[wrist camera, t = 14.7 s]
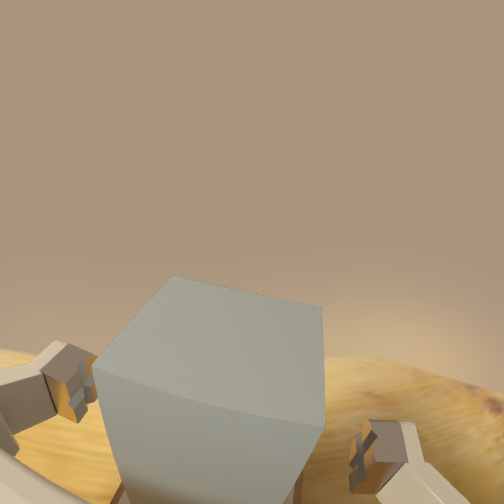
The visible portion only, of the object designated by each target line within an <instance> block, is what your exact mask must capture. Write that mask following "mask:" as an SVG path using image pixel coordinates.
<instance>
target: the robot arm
mask: <svg viewBox="0 0 504 504" xmlns="http://www.w3.org/2000/svg"><path fill="white" fill-rule="evenodd" d="M97 358H98V357H97V356H96V355H94V354H92V353H89V352H87V351H85V350H83V349H80V348H78V347H76V346H74V345H71V344H69V343H66V342H64V341H62V340H60V339H58V340H55V341H53V342H52V343H51V344H50V345H49V346H48V347H47V348H46V349H45V350H44V351H42V352H41V353H40V354H39V355H38V356H37V357H36V358H35V359H34V360H33V361H32V362H31V363H30V364H28V365H26V364H21V365H17V366H13V367H10V368H6V369H2V370H0V504H93V503H91V502H89V501H87V500H85V499H83V498H81V497H79V496H77V495H75V494H73V493H71V492H69V491H68V490H66V489H64V488H62V487H60V486H59V485H57V484H55V483H54V482H52V481H50V480H49V479H47V478H45V477H44V476H42V475H40V474H39V473H37V472H36V471H34V470H33V469H31V468H30V467H28V466H27V465H25V464H24V463H22V462H21V461H19V460H18V459H16V458H15V457H14V456H15V455H16V454H17V452H18V451H19V450H20V448H19V445H18V443H17V441H16V440H15V438H14V436H13V435H14V434H16V433H19V432H21V431H23V430H25V429H28V428H30V427H32V426H34V425H36V424H39V423H41V422H43V421H45V420H47V419H49V418H52V417H54V416H56V415H57V414H59V415H61V416H63V417H65V418H67V419H69V420H71V421H73V422H75V423H77V424H78V423H79V422H80V420H81V419H82V418H83V416H84V415H85V414H86V412H87V411H88V406H87V404H89V403H92V402H94V401H95V400H96V399H97V397H98V396H97V391H96V387H95V382H94V377H93V372H92V367H91V365H92V364H93V362H94V361H95V360H96V359H97ZM56 413H57V414H56ZM349 465H350V466H351V467H352V468H353V471H352V473H351V474H350V475H349V483H350V493H355V494H376V495H375V496H376V497H377V499H378V500H379V502H380V503H381V504H471V503H470V502H469V501H468V500H467V499H466V498H465V497H464V496H463V495H462V494H461V493H460V492H459V491H458V490H457V489H455V488H454V487H453V486H452V485H451V484H450V483H449V482H448V481H447V480H446V479H445V478H444V477H443V476H442V475H441V474H440V473H439V472H438V471H437V470H436V469H435V468H434V467H433V466H432V465H431V464H430V463H425V461H424V457H423V453H422V449H421V445H420V441H419V437H418V433H417V430H416V426H415V424H414V423H413V422H407V421H388V420H373V419H367V420H366V421H364V423H363V424H362V426H361V433H360V434H358V435H357V436H355V438H354V440H353V441H352V443H351V447H350V450H349Z"/></svg>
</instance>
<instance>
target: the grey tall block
mask: <svg viewBox="0 0 504 504" xmlns="http://www.w3.org/2000/svg"><path fill="white" fill-rule="evenodd" d="M323 350H324V349H323V327H322V309H321V307H319V306H314V305H309V304H304V303H298V302H293V301H288V300H283V299H278V298H273V297H268V296H264V295H259V294H254V293H249V292H244V291H240V290H235V289H230V288H226V287H221V286H217V285H212V284H208V283H203V282H199V281H194V280H190V279H186V278H181V277H177V276H172V277H171V278H170V279H169V280H168V281H167V282H166V283H165V284H164V285H163V286H162V287H161V288H160V289H159V291H158V292H157V293H156V294H155V295H154V296H153V297H152V298H151V299H150V300H149V301H148V302H147V303H146V304H145V306H144V307H143V308H142V309H141V310H140V311H139V312H138V313H137V314H136V315H135V316H134V318H133V319H132V320H131V321H130V322H129V323H128V324H127V325H126V326H125V328H124V329H123V330H122V331H121V332H120V333H119V334H118V335H117V336H116V338H115V339H114V340H113V341H112V342H111V343H110V344H109V345H108V347H107V348H106V349H105V350H104V351H103V352H102V353H101V354H100V356H99V357H98V358H97V359H96V360H95V361H94V362H93V364H92V365H91V367H92V372H93V377H94V382H95V387H96V391H97V396H98V400H99V405H100V409H101V413H102V417H103V421H104V424H105V428H106V432H107V435H108V439H109V442H110V446H111V449H112V452H113V455H114V459H115V462H116V465H117V468H118V471H119V474H120V477H121V480H122V482H123V485H124V488H125V491H126V493H127V496H128V499H129V501H130V504H283V502H284V500H285V499H286V497H287V496H288V494H289V492H290V491H291V489H292V487H293V485H294V484H295V482H296V480H297V478H298V477H299V475H300V473H301V471H302V470H303V468H304V466H305V464H306V462H307V461H308V459H309V457H310V455H311V453H312V451H313V449H314V447H315V445H316V444H317V442H318V440H319V438H320V436H321V434H322V432H323V430H324V428H325V381H324V351H323Z"/></svg>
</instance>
